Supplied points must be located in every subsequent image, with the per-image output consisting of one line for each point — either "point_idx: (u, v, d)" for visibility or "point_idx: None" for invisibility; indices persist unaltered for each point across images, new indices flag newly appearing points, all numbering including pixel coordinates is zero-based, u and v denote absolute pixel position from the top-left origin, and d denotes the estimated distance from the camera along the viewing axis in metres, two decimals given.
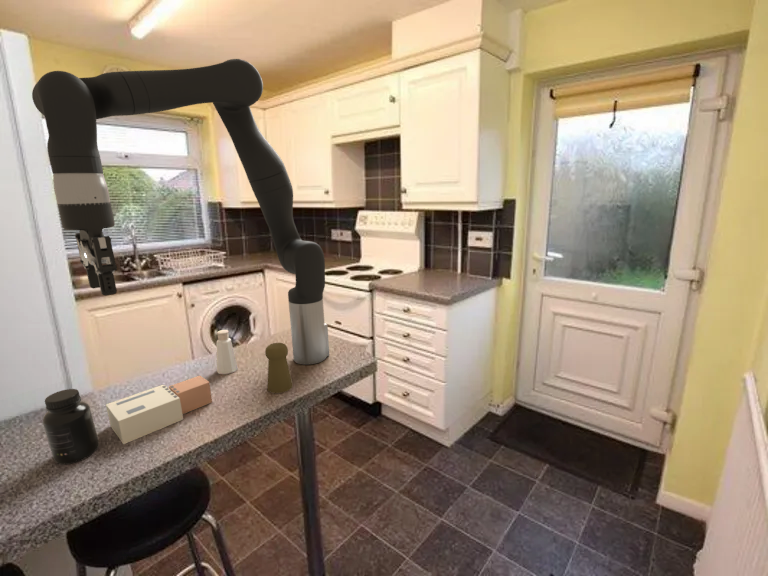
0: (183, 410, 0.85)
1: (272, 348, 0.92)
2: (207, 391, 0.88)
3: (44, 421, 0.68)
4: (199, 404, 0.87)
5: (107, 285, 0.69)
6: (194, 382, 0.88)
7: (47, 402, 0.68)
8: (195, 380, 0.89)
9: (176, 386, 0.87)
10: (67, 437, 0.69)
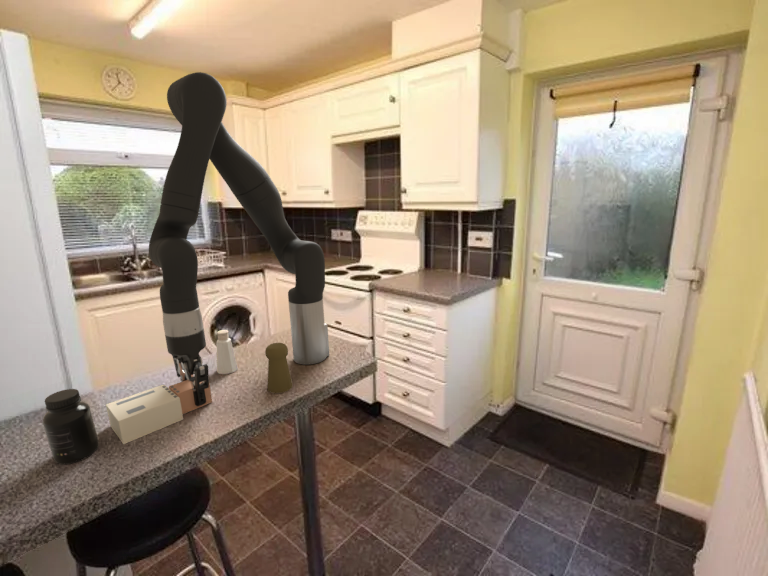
0: (183, 410, 0.85)
1: (272, 348, 0.92)
2: (207, 391, 0.88)
3: (44, 421, 0.68)
4: None
5: (200, 398, 0.86)
6: None
7: (47, 402, 0.68)
8: None
9: (176, 386, 0.87)
10: (67, 437, 0.69)
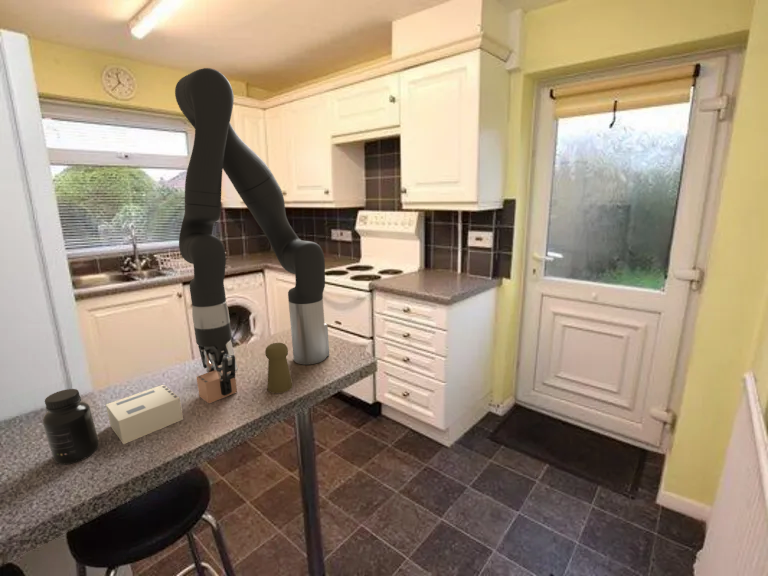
0: (211, 399, 0.89)
1: (272, 348, 0.92)
2: (232, 381, 0.93)
3: (44, 421, 0.68)
4: None
5: (227, 388, 0.90)
6: None
7: (47, 402, 0.68)
8: (221, 371, 0.93)
9: (203, 376, 0.91)
10: (67, 437, 0.69)
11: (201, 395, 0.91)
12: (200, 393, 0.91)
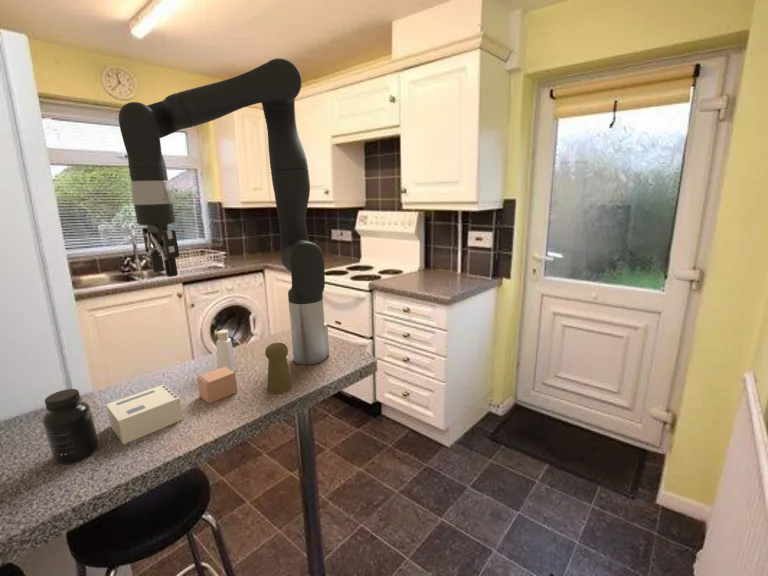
0: (211, 399, 0.89)
1: (272, 348, 0.92)
2: (233, 381, 0.93)
3: (44, 421, 0.68)
4: (225, 393, 0.92)
5: (171, 268, 0.87)
6: (221, 372, 0.93)
7: (47, 402, 0.68)
8: (221, 371, 0.93)
9: (204, 376, 0.91)
10: (67, 437, 0.69)
11: (201, 395, 0.91)
12: (200, 393, 0.91)
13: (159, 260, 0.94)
